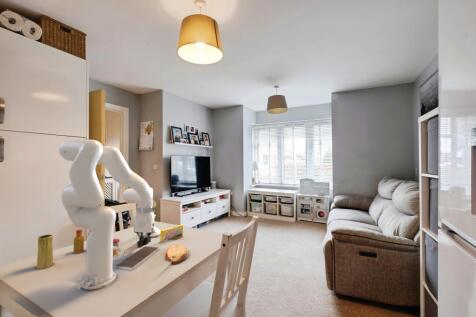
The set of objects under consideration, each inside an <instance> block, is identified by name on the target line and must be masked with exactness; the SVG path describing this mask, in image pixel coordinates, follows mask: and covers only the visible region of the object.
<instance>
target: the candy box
mask: <svg viewBox="0 0 476 317" xmlns="http://www.w3.org/2000/svg"><path fill="white" fill-rule="evenodd" d="M160 231H161V232H160V234H159V242H160V243H164V242H167V241H175V240H179V239H181V238H183V237H184V224H179V225H175V226H172V227H167V228H164V229H160Z"/></svg>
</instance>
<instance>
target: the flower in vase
mask: <svg viewBox="0 0 476 317" xmlns="http://www.w3.org/2000/svg"><path fill="white" fill-rule="evenodd" d="M156 207H157V201H156V200H155V199H153V207H152V208H156ZM152 212H153V213H154V219H155V218H156V216H157V214H155V212H156V209H155V210H152ZM154 229H155V233H154V234H151V235H150V236H151V238H153V237H154V238H155V237H157V236H160V232H161V229H159V228H158V227H157V226H155V227H154ZM150 232H151V231H150ZM143 236H144V237H145V232H143Z"/></svg>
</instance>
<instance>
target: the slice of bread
mask: <svg viewBox="0 0 476 317" xmlns="http://www.w3.org/2000/svg"><path fill="white" fill-rule="evenodd" d="M188 257H189V248H187V246H185V245H184V244H178V243H172V244H171V245H169V247H168V249H167V251H166V253H165V260H166V261H167V262H168V263H169V262H170V263H171V264H172V265H177V264H180V263H182V262H183V261H184V260H186V259H188Z"/></svg>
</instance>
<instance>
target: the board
mask: <svg viewBox="0 0 476 317" xmlns="http://www.w3.org/2000/svg"><path fill="white" fill-rule="evenodd" d="M158 249H159V247H158V246H147V245H144V246H143V247H141V248H139V250H137V251H134V253H133V254H132V253H131V255H129V256H128V257H126V258H125V259H123V260H122V261H120V262H119V263H117V264H115V267H121V268H130V269H132V268H134V267H135V266H137V265H138V264H139V263H141V262H142V261H143V260H145V259H146V258H147V257H149V256H150V255H151V254H153V253H154V252H155V251H157V250H158Z"/></svg>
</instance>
